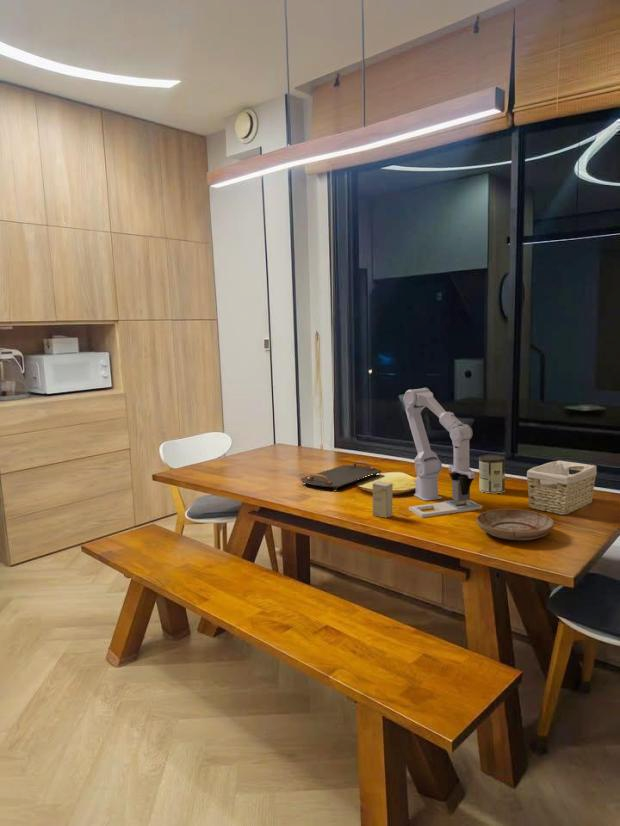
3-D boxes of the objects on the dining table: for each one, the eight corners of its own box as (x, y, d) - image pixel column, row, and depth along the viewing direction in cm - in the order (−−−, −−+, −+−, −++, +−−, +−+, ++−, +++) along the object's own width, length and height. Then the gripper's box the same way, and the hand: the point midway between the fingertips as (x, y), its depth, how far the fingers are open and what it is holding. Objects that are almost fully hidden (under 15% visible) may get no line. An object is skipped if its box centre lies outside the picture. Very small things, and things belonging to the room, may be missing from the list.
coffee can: (490, 486, 238) (490, 453, 236) (510, 491, 230) (510, 457, 228) (473, 490, 233) (473, 457, 231) (493, 495, 224) (493, 461, 222)
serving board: (348, 469, 280) (348, 457, 280) (386, 475, 265) (386, 462, 264) (294, 486, 252) (294, 473, 252) (334, 494, 237) (333, 480, 236)
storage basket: (555, 495, 222) (556, 458, 220) (598, 503, 210) (599, 464, 208) (524, 508, 207) (524, 469, 205) (567, 518, 194) (568, 477, 192)
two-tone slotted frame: (408, 509, 211) (408, 506, 210) (466, 501, 218) (466, 497, 218) (421, 517, 201) (421, 513, 201) (482, 508, 208) (482, 504, 208)
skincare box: (372, 515, 206) (371, 483, 204) (379, 512, 209) (378, 480, 207) (386, 518, 202) (386, 485, 200) (393, 515, 205) (392, 483, 203)
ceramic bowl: (493, 517, 198) (493, 504, 198) (563, 530, 183) (563, 516, 182) (464, 537, 181) (464, 522, 180) (538, 553, 166) (539, 536, 165)
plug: (452, 498, 212) (452, 480, 211) (463, 496, 214) (463, 478, 213) (458, 501, 208) (458, 482, 207) (469, 499, 210) (469, 481, 209)
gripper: (441, 454, 215) (442, 489, 216) (462, 462, 201) (463, 499, 203) (457, 453, 217) (458, 487, 218) (479, 460, 203) (479, 496, 205)
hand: (461, 492), depth 211 cm, fingers closed on plug, 4 cm apart
